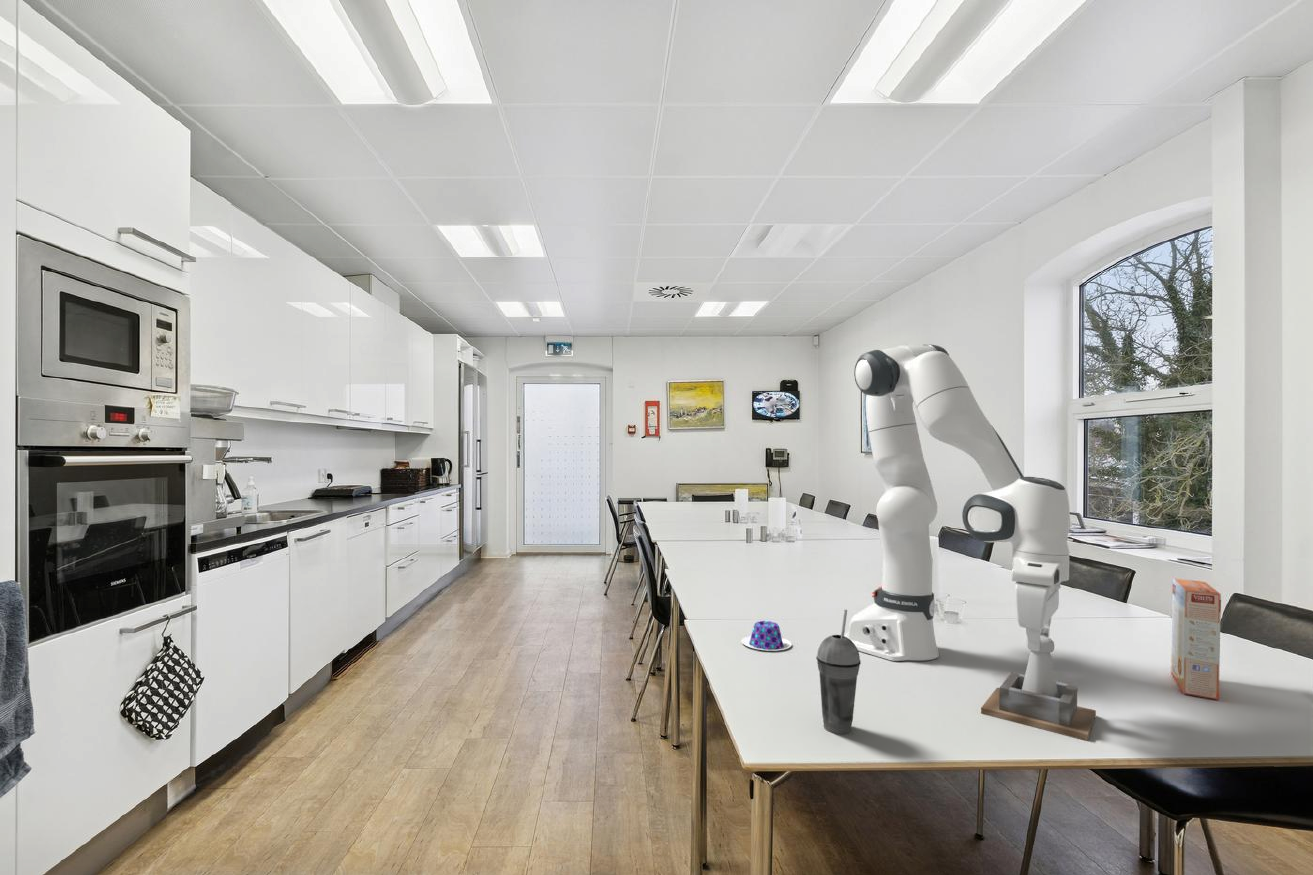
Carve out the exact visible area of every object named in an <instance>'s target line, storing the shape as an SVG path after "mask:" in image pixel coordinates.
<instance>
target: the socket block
mask: <svg viewBox="0 0 1313 875" xmlns="http://www.w3.org/2000/svg"><path fill="white" fill-rule="evenodd" d="M1024 678H1025V673H1024V674H1022V673H1017V672H1014V671H1012V672H1010V673H1009V675H1008V676H1007V677H1006V679H1005V680H1004V681H1003V682H1002V684H1000V686H999V687H996V688H995V690H994V691H993V692H992V693H991V695H990V696H989V697H988V698H987V700H986V701H985V702H984V703H983V704H982V706H981V707H980V714H982V715H986V716H990V717H994V718H998V719H1003V720H1005V721H1009V722H1013V723H1017V724H1022V725H1025V726H1029V727H1032V728H1036V729H1041V730H1044V731H1048V732H1052V733H1056V734H1059V735H1060V734H1061V735H1064V736H1067V737H1070V738H1071V737H1072V738H1074V739H1080V740H1083V741H1085V742H1086V741H1087V742H1088V741H1089V738H1090V734H1091V732H1092V729H1093V725H1094V724H1095V719H1096V717H1095V716H1097V710H1096V709H1092V708H1087V707H1082V706H1078V685H1074V684H1070V683H1065V682H1061V681H1060V682H1059V681H1056V684H1057V690H1058V695H1059V698H1055V697H1051V696H1047V695H1042V694H1038V693H1034V692H1029V691H1025V690H1022V687H1023V682H1024Z"/></svg>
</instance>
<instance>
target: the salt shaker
mask: <svg viewBox="0 0 1313 875" xmlns="http://www.w3.org/2000/svg"><path fill="white" fill-rule="evenodd" d="M1040 640H1041V648H1040V650H1039V651H1033V650H1030V652H1029V656H1028V660H1027V661H1028V662H1027V664H1026V665H1027V666H1026V669H1025V673H1024V675H1025V678H1024V682H1023V687H1022V690H1025V691H1029V692H1034V693H1038V694H1042V695H1047V696H1051V697H1055V698H1059V695H1058V690H1057V684H1056V682H1057V681H1056V680H1057V679H1056V675H1055V670H1054V665H1053V660H1052V655H1051V653H1053V652H1054V650H1055V641H1053V640H1052V638H1050V637H1045V636H1041V635H1040ZM1025 643H1026V647H1027V648H1028V638H1027V637H1026V642H1025Z"/></svg>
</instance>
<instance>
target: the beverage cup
mask: <svg viewBox="0 0 1313 875" xmlns="http://www.w3.org/2000/svg"><path fill="white" fill-rule="evenodd" d="M847 617H848V610H847V609H844V610H843V619H842V626H841V634H832V635H830V636H828V637H826V638H824V639H823V641H821V643H820V645H819V647H818V649H817V654H816V657H815V658H816V662H817V668H818V669H817V670H818V672H819V683H820V700H821V713H822V722H823V729H824V730H826V731H827V732H829V733H831V734H836V735H845V734H849V733H851V731H852V725H853V720H854V710H855V709H854V708H855V701H856V690H857V680H858V675H859V671H860V665H861V664H862V662H861V656H860V651H858V649H857V647H856V646H855V644H854V643H853V642H852V641H851V640H850V639H849V638H847V637H845V636H844V633H846V632H845V631H846V624H847Z"/></svg>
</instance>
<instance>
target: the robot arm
mask: <svg viewBox="0 0 1313 875" xmlns="http://www.w3.org/2000/svg"><path fill="white" fill-rule="evenodd" d="M853 375H854V381H855V384H856V386H857V388H858V389H859V390H860V392H861V393H863V394H864V395H866V397H865V416H866V417H865V418H866V424H867V426H866V427H867V432H868V438H869V443H870V448H871V453H872V454H871V455H872V457H873V458H872V459H873V464H874V466H875V468H876V470H877V473H878V475H879V478H880V480H881V484H882V487H883V490H884V493H883V494H882V495H881V496H880V498H879V500H878V502H877V504H876V509H875V510H876V511H875V513H876V518H877V522H878V535H879V542H880V547H881V557H882V558H881V560H882V561H881V562H882V564H881V573H882V574H881V585H880V586H878V587H877V589H875V590H873V592H871V594H872V595H871V598H873V603H870V604H869V605H867V606H866V607H865V608H864V607H863V609H861V610H860V611H858V612H856V613H855V614H854V615H853V616H852V617H851V619H850V621H849V624H848V630H847V631H846V632H844V636H845V637H847V638H849V639H850V640H851V641H852V642H853V643H854V644H855V646H856V647H857V649H858V652H862V653H865V654H869V655H872V656H875V657H879V658H883V659H886V660H889V661H891V662H892V661H894V662H900V661H902V662H903V661H929V660H930V661H931V660H936V659H937V658H938V657H939V656H940V653H939V652H940V651H939V650H938V646H937V641H936V635H935V629H934V617H935V613H936V612H935V608H936V606H935V593H934V591H933V562H934V561H933V556H932V551H931V550H932V548H931V539H930V525H931V524H932V522H934V520H935V518H936V516H937V514H938V503H937V500H936V496H935V495H936V494H935V492H934V489H933V488H934V487H933V484H932V481H931V476H930V475H929V474H930V473H929V472H928V471H929V470H928V468H927V467H928V466H927V464H926V462H925V458H924V455H923V450H922V445H921V440H920V434H919V429H918V425H917V419H916V416H915V411H914V407H915V409H916V411H917V414H918V416H919V419H920V421H921V423H922V424H923V426H924V428H925V429H926V431H928V433H929V434H930V436H931V437H932V438H933V439H935V440H938V441H940V442H942V443H945V444H947V445H950V446H952V447H954V448H956V449H958V450H960V451H962V452H964V453H965V454H967V455H968V456H970V457H971V458H972V459H974V461H976V463H977V464H978V466H979V468H980V469H981V471H982V473H983V474H984V476H985V478H986V479H987V482H988V483H989V485H990V488H992V490H991V491H987V492H981V493H978V494H974V495H972V496H971V497H969V498H968V500H966V501H965V503H964V506H963V508H962V513H961V516H962V518H961V519H962V523H963V526H964V528H965V530H966V532H967V533H968V534H969V535H970V536H971V537H972V538H973V539H975V540H978V541H981V542H985V543H1007V542H1010V543H1011V544H1012V564H1011V565H1012V566H1011V572H1010V574H1011V577H1010V578H1011V581H1013V582H1015V585H1014V588H1015V589H1014V596H1015V597H1014V598H1015V611H1016V621H1017V623H1018V625H1019V626H1018V627H1020V628H1023V629H1025V632H1026V639H1027V638H1028V647H1027V649H1028V650H1030V651H1031V650H1033V651H1039V650H1040V648H1041V640H1040V635H1041V636H1045V637H1048V638H1050V628H1051V623H1052V617H1053V615H1055V613H1056V612H1057V611H1058V609H1059V604H1060V603H1059V602H1060V601H1059V600H1060V599H1059V597H1060V595H1059V594H1060V589H1061V585H1062V584H1061V583H1063V582H1067V581H1069V580H1070V548H1069V545H1068V536H1069V533H1070V530H1071V514H1070V513H1071V510H1070V509H1071V508H1070V500H1069V496H1068V491H1067V489H1066V487H1065V486H1064V485H1062V483H1060V482H1058V481H1056V480H1052V479H1050V478H1049V479H1048V478H1043V477H1037V476H1024V474H1023V473H1022V471H1021V469H1020V468H1019V466H1018V464H1017V463H1016V461H1015V459H1014V457H1013V456H1012V454H1011V452H1010V450H1009V449H1008V447H1007V446H1006V444H1005V443H1004V441H1003V438H1001V436H1000V435H999V433H998V432H997V431H996V429H995V428H994V426H993V425H992V424H991V423H990V421H989V419H988V418H987V417H986V416H985V414H984V412H983V410H982V409H981V407H980V405H979V404H978V402H977V400H976V398H975V396H974V394H973V392H972V390H971V388H970V386H969V384H968V382H967V380H966V378H965V376H964V375H963V373H962V372H961V370H960V368H959V367H958V365H957V364H956V363H955V362H954V360H953V359H952V358H951V356H950V354H949V353H948V351H947V350H946V349H945V348H944V347H942V346H940V345H937V344H936V345H935V344H929V343H926V344H922V345H920V344H907V345H899V346H896V347H889V348H883V349H874V350H870V351H867V352H865V353H863V354H861V355H860V356H859V357H858V359H857V360H856V363H855V366H854V374H853ZM913 403H914V404H913ZM913 406H914V407H913Z"/></svg>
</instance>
